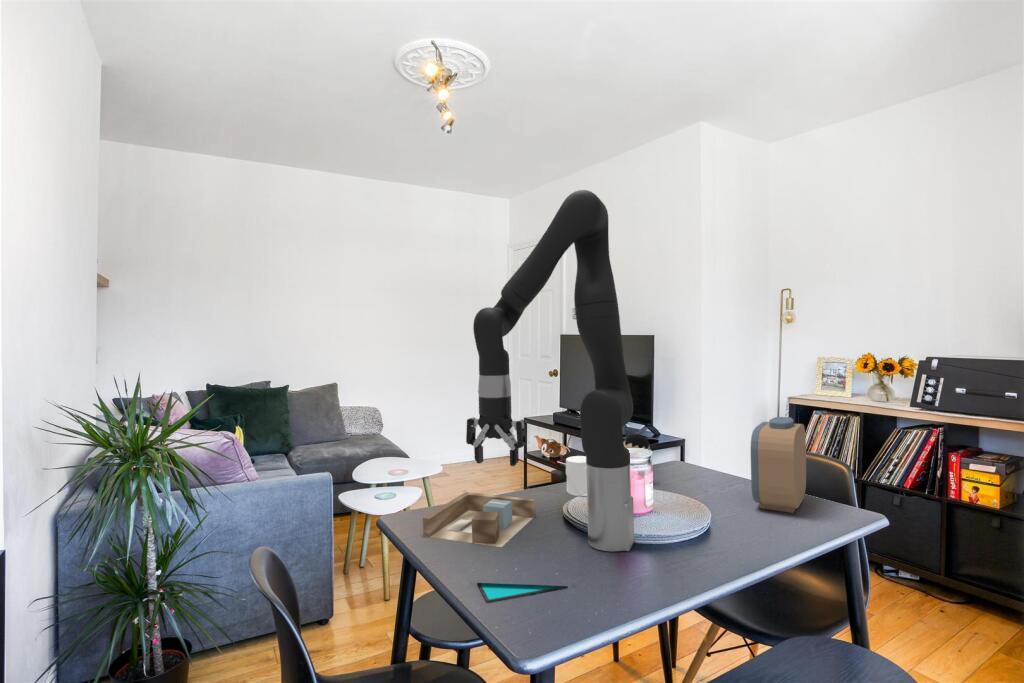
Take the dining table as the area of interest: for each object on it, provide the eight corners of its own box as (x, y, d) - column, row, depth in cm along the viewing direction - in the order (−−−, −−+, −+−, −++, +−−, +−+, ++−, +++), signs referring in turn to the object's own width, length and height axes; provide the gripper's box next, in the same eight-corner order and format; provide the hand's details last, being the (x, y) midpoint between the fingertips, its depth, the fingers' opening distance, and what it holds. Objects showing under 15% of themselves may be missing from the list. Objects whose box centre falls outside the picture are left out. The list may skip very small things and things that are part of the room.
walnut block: (499, 534, 117) (498, 512, 117) (495, 543, 112) (494, 520, 112) (477, 534, 117) (476, 511, 117) (472, 543, 112) (471, 519, 112)
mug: (559, 457, 153) (582, 454, 156) (559, 490, 153) (582, 485, 156) (582, 466, 142) (607, 462, 146) (583, 501, 142) (607, 496, 146)
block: (512, 522, 124) (511, 500, 124) (503, 529, 119) (503, 507, 119) (493, 520, 126) (492, 498, 126) (483, 527, 121) (483, 505, 121)
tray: (535, 520, 128) (535, 499, 128) (501, 552, 110) (501, 527, 110) (466, 512, 136) (465, 492, 136) (423, 541, 117) (422, 517, 117)
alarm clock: (767, 490, 146) (765, 412, 146) (806, 496, 141) (804, 414, 140) (751, 512, 130) (749, 424, 129) (795, 519, 124) (792, 427, 124)
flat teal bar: (476, 581, 96) (553, 568, 101) (476, 586, 96) (553, 572, 101) (486, 601, 89) (568, 585, 94) (486, 606, 89) (568, 590, 94)
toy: (650, 481, 158) (649, 431, 158) (654, 488, 151) (652, 436, 151) (621, 481, 159) (620, 432, 159) (623, 488, 152) (622, 436, 152)
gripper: (529, 393, 123) (530, 462, 123) (474, 391, 129) (476, 458, 129) (516, 397, 116) (518, 470, 116) (459, 395, 122) (461, 465, 122)
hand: (496, 464), depth 123 cm, fingers open, 8 cm apart
